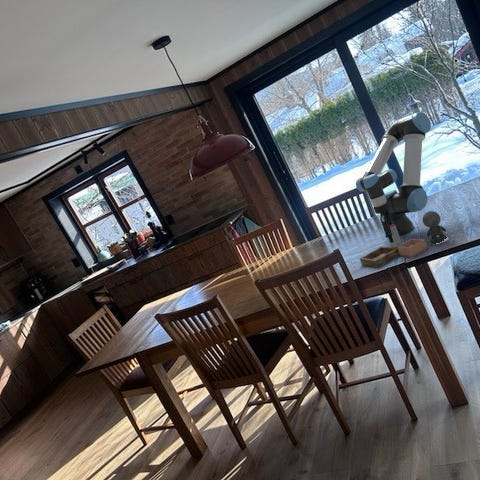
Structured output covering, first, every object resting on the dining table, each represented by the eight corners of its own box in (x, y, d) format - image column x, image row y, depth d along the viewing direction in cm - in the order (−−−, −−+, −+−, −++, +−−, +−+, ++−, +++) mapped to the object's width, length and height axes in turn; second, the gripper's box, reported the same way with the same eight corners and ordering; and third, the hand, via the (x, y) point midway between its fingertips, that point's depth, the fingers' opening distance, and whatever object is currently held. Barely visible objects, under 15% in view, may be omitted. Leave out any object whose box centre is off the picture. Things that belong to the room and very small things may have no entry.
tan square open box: (415, 247, 213) (411, 238, 213) (427, 249, 205) (424, 239, 204) (400, 256, 211) (396, 246, 210) (412, 257, 203) (409, 248, 202)
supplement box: (403, 246, 223) (395, 225, 221) (391, 250, 224) (384, 230, 222) (401, 243, 228) (393, 223, 226) (390, 247, 230) (382, 227, 228)
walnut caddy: (383, 252, 226) (381, 246, 226) (401, 254, 213) (398, 248, 212) (361, 264, 223) (359, 258, 223) (378, 267, 210) (375, 261, 209)
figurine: (447, 235, 211) (437, 206, 209) (450, 241, 202) (439, 211, 200) (429, 240, 214) (418, 212, 212) (431, 247, 205) (420, 218, 203)
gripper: (376, 200, 233) (391, 238, 237) (369, 212, 215) (385, 253, 219) (390, 196, 230) (405, 235, 233) (384, 207, 211) (400, 249, 215)
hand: (395, 244), depth 226 cm, fingers open, 9 cm apart
